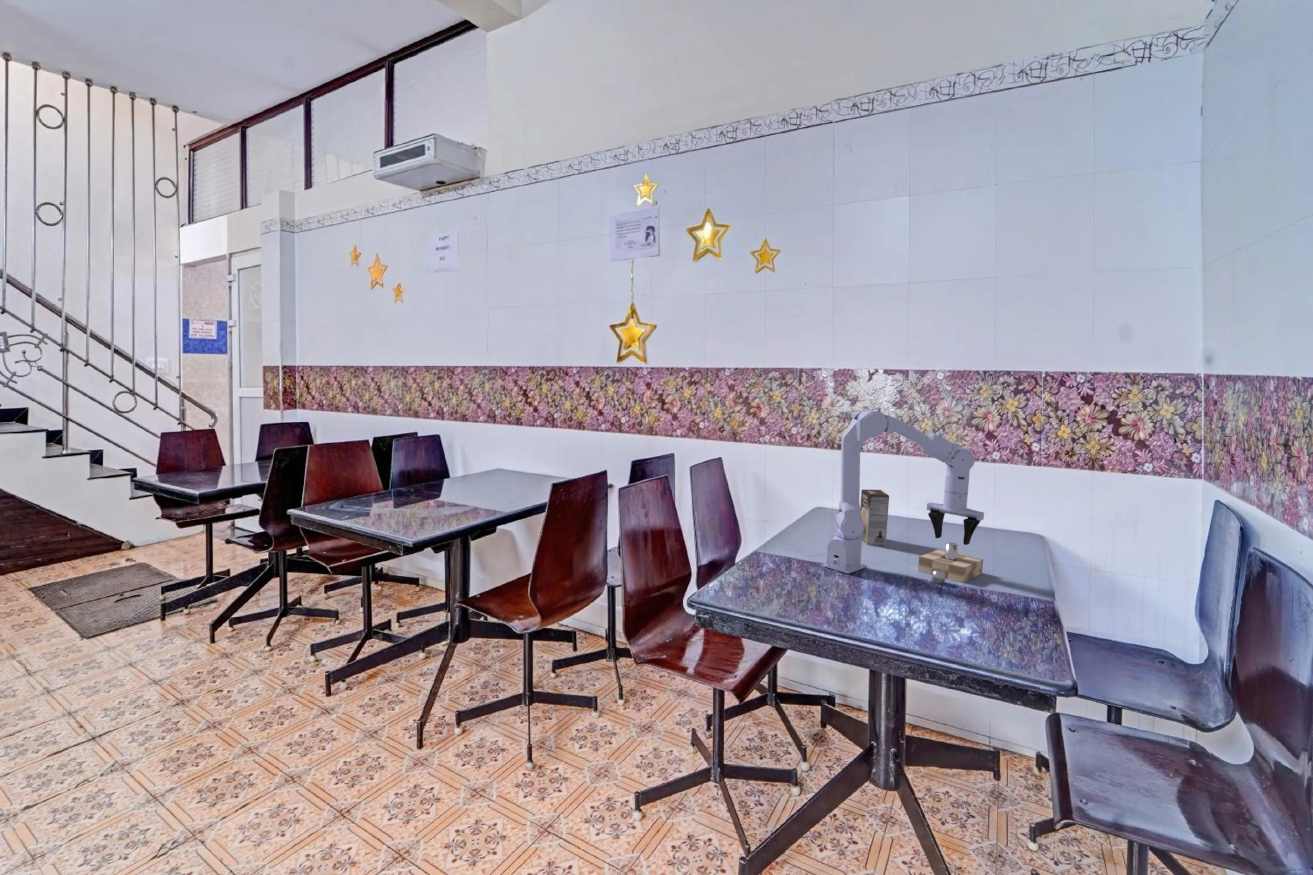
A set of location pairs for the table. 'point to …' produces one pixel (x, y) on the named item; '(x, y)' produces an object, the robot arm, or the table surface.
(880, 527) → the coffee box
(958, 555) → the socket block
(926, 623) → the table surface
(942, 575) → the short stub
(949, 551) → the long pin
